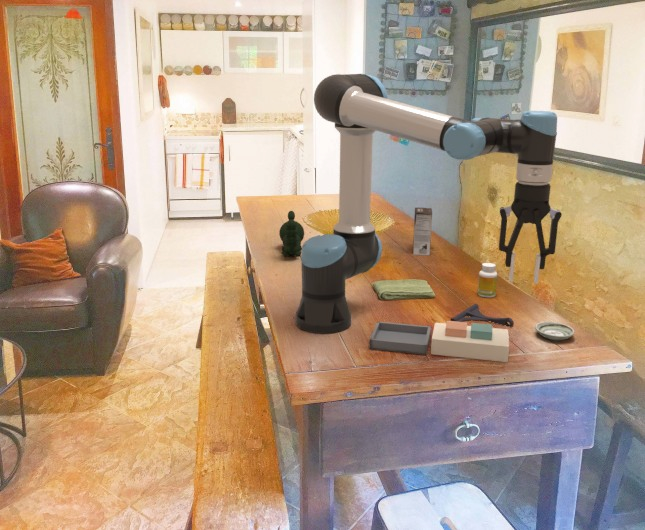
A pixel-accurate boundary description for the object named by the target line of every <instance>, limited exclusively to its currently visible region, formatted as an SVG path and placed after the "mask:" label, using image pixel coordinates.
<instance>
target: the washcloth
mask: <svg viewBox="0 0 645 530" xmlns="http://www.w3.org/2000/svg"><path fill="white" fill-rule="evenodd" d="M371 285H372V289H374V291H375V293H377V296H378V298H379V300H381V301H398V300H399V301H400V300H401V301H403V300H412V299H413V300H414V299H433V298H435V297H436V294H435V292H434V290H433V289H432V287H431V285H430V284H428V281H427V280H425V279H415V278H413V279H410V278H409V279H398V280H397V279H396V280H393V279H386V280H377V281H374V282H373V283H372V284H371Z"/></svg>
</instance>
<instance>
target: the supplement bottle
mask: <svg viewBox="0 0 645 530" xmlns="http://www.w3.org/2000/svg"><path fill="white" fill-rule="evenodd" d="M496 269H497V268H496V264H495V263H493V262H483V263H481V270H480V271H479V273H478V283H477V295H478V296H479V297H481V298H482V297H483V298H494V297H495V296H496V294H497V284H498V283H497V282H498V273H497V271H496Z"/></svg>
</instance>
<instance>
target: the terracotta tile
mask: <svg viewBox="0 0 645 530" xmlns="http://www.w3.org/2000/svg"><path fill="white" fill-rule="evenodd" d="M445 324H446V329H445V336H453V337H464V338H466V332H467V326H468V321H464V322H458V321H454V320H453V321H450V320H446V323H445Z"/></svg>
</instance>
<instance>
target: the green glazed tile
mask: <svg viewBox="0 0 645 530" xmlns="http://www.w3.org/2000/svg"><path fill="white" fill-rule="evenodd" d="M470 326H471V335H470V338H474V339H484V340H492V328H493V324H489V323H488V324H487V323H478V322H477V323H476V322H471V323H470Z"/></svg>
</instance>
